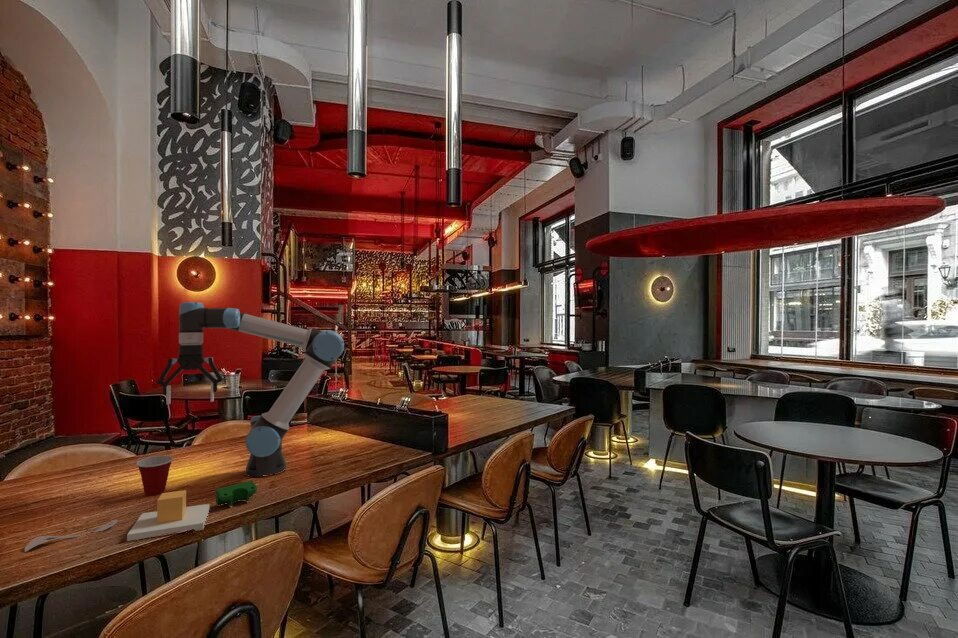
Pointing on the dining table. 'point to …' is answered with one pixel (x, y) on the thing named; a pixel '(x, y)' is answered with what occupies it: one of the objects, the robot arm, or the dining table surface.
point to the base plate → (169, 523)
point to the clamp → (235, 493)
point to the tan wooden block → (171, 506)
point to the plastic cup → (154, 473)
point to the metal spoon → (43, 539)
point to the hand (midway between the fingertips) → (190, 402)
